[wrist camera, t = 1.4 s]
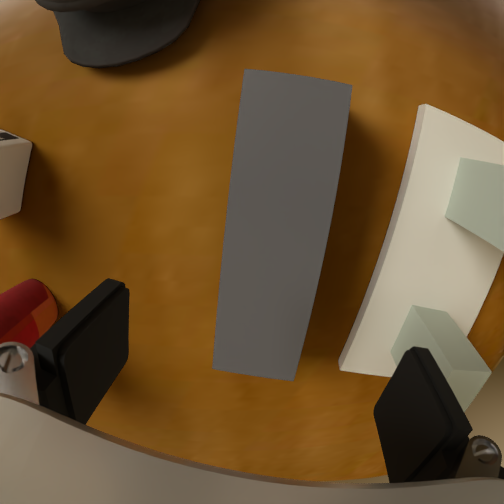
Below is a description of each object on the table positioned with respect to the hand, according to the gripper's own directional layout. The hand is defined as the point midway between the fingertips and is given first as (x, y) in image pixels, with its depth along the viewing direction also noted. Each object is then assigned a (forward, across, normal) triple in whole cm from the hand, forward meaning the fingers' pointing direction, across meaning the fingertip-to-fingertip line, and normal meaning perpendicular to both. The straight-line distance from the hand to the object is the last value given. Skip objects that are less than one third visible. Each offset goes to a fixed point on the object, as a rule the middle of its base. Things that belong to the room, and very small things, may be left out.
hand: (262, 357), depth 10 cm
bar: (+17, 0, -1) cm, 17 cm away
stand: (+17, -15, -1) cm, 22 cm away
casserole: (+17, +17, -23) cm, 33 cm away
